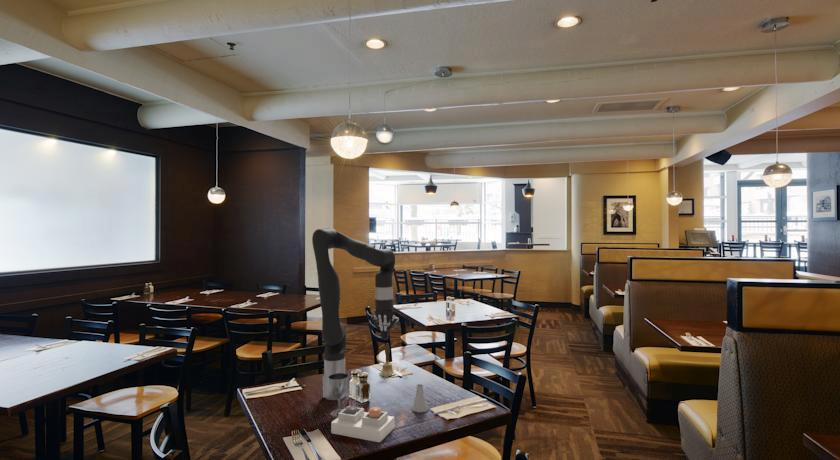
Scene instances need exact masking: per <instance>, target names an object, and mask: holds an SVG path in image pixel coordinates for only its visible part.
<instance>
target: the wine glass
mask: <svg viewBox="0 0 840 460" xmlns="http://www.w3.org/2000/svg"><path fill="white" fill-rule="evenodd" d="M348 386H349V374H348V373H346V372H345V373H335V374H331V375H330V376H329V387H330V390H331V392H332V393H333V394H334V395H335V396H336V398H337V400H336V401H337V409H334V410H332V411H331V412H330V413H329V414H330V415H331V416H332V417H336V418H338V413H340V412H341V411H342V410H344V409H345V408H341V400H342V399H341V397H342V395H343V394H344V393H345V391H346V392H347V390H348V388H349V387H348Z"/></svg>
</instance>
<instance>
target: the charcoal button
mask: <svg viewBox="0 0 840 460" xmlns="http://www.w3.org/2000/svg"><path fill="white" fill-rule="evenodd" d="M349 406H350V407H348V406H346V407H347V408H346V407H345V408H346V409H345V408H344V409H345V411H346V414H352V415H354V414H356V413H357V407H358V406H354V405H349Z"/></svg>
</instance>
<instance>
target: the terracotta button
mask: <svg viewBox="0 0 840 460" xmlns="http://www.w3.org/2000/svg"><path fill="white" fill-rule="evenodd" d="M381 411H382V408H381V407H379V406H372V407H370V408H369V409H368V412H369V418H375V419H379V418H380V417H381Z"/></svg>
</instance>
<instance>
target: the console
mask: <svg viewBox="0 0 840 460" xmlns="http://www.w3.org/2000/svg"><path fill="white" fill-rule="evenodd" d="M350 406H351V405H348V406H346V407H345V408H343V409H344V410H342V411H341V412H340V413H338V417H336V418H335V419H333V420H332V421H331V422H330V423H331V424H330V425H331V426H330V428H331V430H330V432H331V434H332V435H333V434H334V435H340V436H344V437H349V438H354V439H360V440H366V441H369V442H374V443H375V442H376V443H381V442H382V441H383V440H384V439H385V438H386V437H388V435H389V434H390V433H391V432H392V431H393V430H394V429H395V427H396V426H395V424H396V421H395V420H396V419H395V416H393V415H392V416H391V415H389V412H388V411H383V410H381V417H380V418H379V419H375V418H369V411H368V412H367V411H365V408H363V407H358V406H356V407H357V413H356V414H354V415H352V414H346V411H345V409H346V408H347V407H350Z"/></svg>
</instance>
